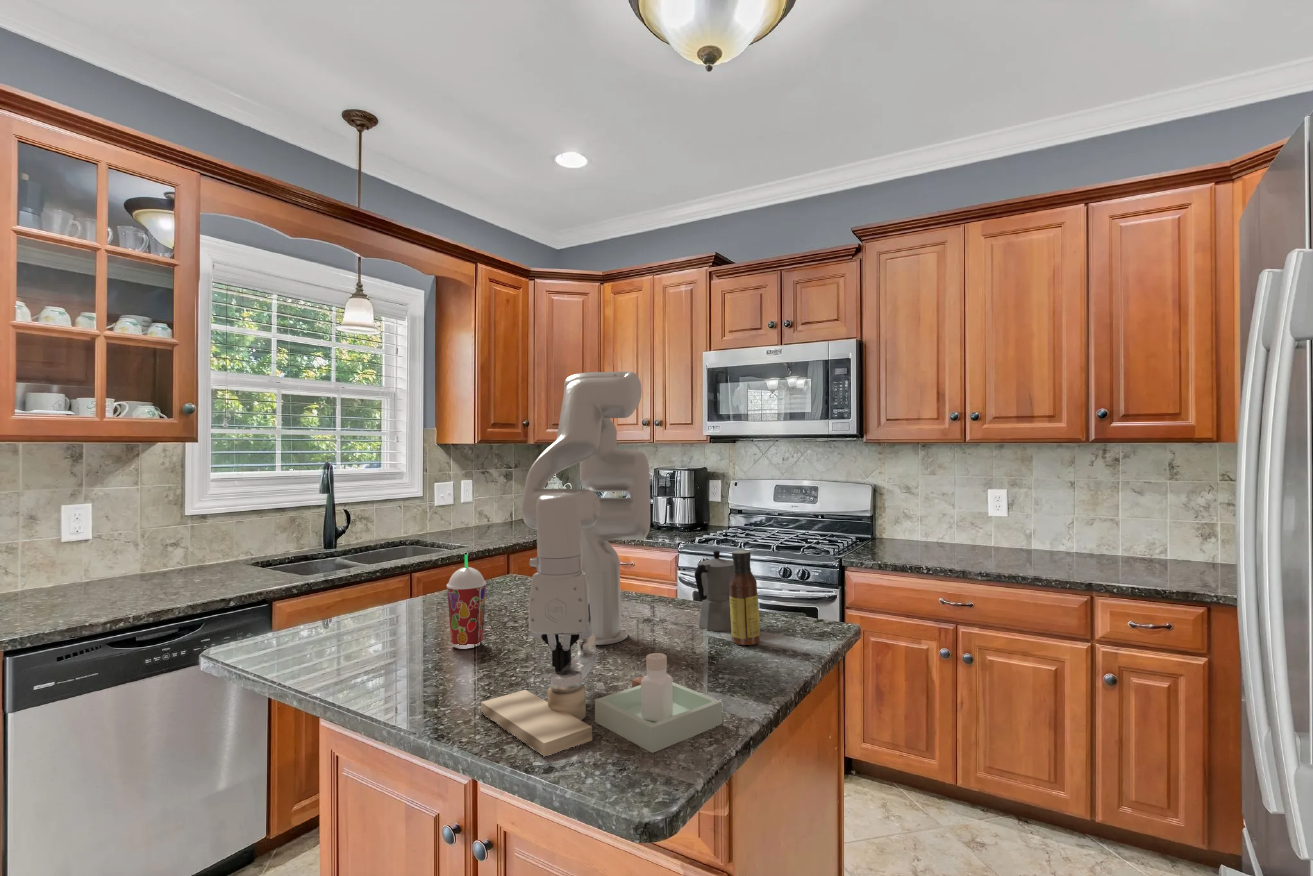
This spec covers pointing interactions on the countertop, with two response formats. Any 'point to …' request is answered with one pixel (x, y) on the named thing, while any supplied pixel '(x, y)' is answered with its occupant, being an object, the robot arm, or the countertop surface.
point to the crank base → (544, 718)
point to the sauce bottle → (743, 601)
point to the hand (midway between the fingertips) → (561, 670)
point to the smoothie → (466, 605)
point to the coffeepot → (714, 592)
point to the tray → (685, 722)
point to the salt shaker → (656, 689)
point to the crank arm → (576, 668)
